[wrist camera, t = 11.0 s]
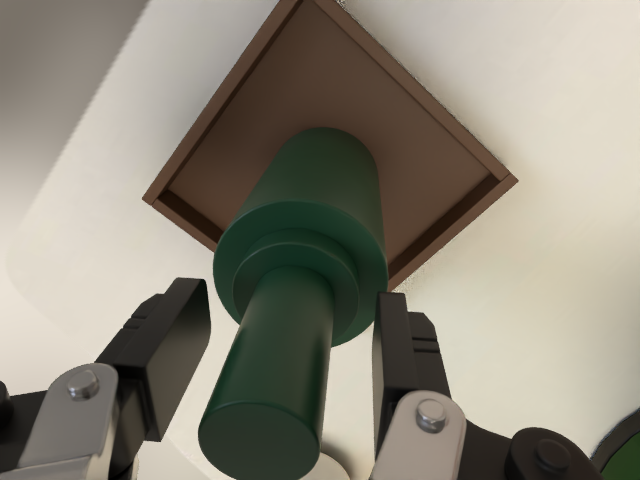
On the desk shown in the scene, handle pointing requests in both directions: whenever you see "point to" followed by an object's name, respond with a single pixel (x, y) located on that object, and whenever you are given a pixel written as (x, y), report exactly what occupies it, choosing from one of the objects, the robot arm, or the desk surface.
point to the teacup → (326, 470)
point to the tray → (334, 112)
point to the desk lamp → (621, 452)
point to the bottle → (293, 301)
